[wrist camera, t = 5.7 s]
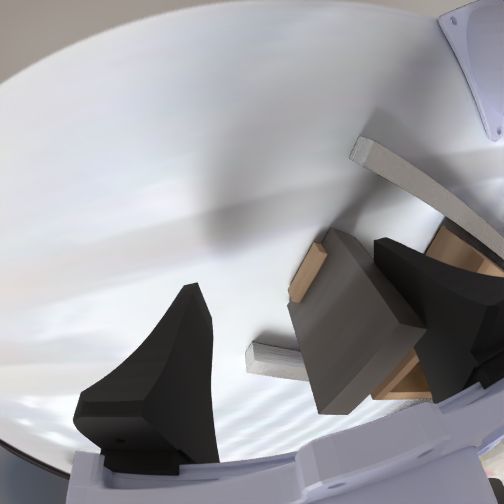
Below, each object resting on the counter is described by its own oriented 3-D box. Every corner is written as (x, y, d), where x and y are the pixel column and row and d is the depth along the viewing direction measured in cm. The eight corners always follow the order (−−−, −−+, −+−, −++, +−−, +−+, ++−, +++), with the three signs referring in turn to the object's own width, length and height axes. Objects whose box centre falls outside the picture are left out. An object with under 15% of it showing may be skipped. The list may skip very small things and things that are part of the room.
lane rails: (536, 274, 19) (545, 281, 18) (461, 376, 25) (466, 385, 24) (359, 135, 12) (374, 140, 11) (245, 354, 18) (246, 372, 17)
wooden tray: (505, 270, 18) (557, 320, 11) (436, 364, 22) (469, 421, 16) (349, 172, 13) (442, 241, 7) (259, 338, 17) (277, 443, 11)
